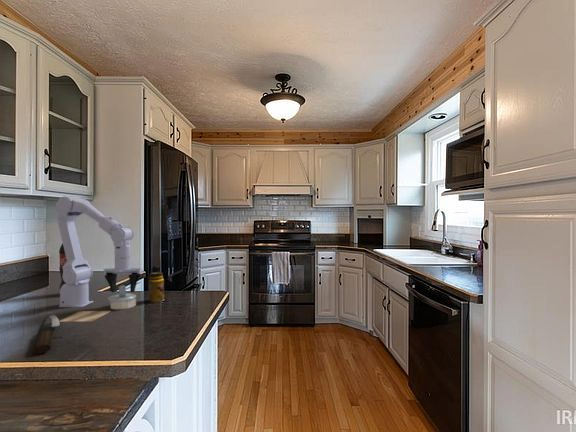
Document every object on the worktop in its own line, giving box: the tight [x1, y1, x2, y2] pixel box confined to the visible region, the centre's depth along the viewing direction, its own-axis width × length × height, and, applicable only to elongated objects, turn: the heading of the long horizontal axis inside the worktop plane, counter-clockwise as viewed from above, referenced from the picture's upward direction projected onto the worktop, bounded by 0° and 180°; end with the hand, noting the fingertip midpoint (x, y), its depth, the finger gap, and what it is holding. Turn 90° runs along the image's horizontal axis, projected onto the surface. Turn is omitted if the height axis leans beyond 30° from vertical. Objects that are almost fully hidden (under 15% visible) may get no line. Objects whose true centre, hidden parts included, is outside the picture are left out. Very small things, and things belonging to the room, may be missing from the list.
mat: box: [59, 310, 112, 323], centre depth 119 cm, size 12×12×1 cm
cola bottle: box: [58, 242, 77, 290], centre depth 155 cm, size 8×8×30 cm
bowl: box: [109, 297, 137, 310], centre depth 132 cm, size 9×9×4 cm
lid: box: [107, 285, 137, 302], centre depth 132 cm, size 10×10×5 cm
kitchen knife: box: [34, 314, 60, 355], centre depth 103 cm, size 36×2×5 cm
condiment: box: [148, 271, 165, 303], centre depth 140 cm, size 7×8×12 cm
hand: (123, 291), depth 132 cm, fingers open, 7 cm apart
